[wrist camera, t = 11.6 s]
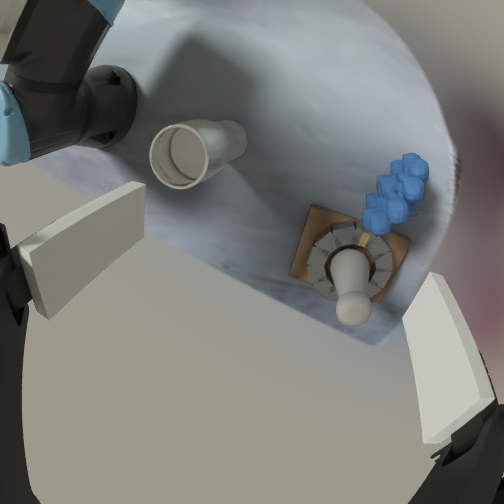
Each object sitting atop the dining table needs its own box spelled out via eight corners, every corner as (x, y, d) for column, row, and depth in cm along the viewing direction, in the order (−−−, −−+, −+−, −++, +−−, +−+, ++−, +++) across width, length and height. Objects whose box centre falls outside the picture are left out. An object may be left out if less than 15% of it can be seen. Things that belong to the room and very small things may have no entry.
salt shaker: (322, 256, 41) (319, 311, 30) (353, 234, 39) (361, 286, 28) (344, 282, 43) (346, 341, 31) (374, 263, 40) (387, 319, 29)
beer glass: (240, 109, 35) (193, 109, 22) (258, 154, 38) (221, 177, 25) (197, 127, 38) (137, 140, 25) (215, 169, 40) (163, 200, 28)
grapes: (379, 228, 38) (396, 270, 28) (346, 199, 38) (354, 234, 28) (430, 172, 32) (466, 196, 22) (397, 139, 32) (427, 150, 22)
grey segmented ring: (298, 280, 44) (296, 291, 42) (323, 209, 38) (323, 217, 35) (369, 302, 43) (370, 313, 40) (402, 236, 37) (406, 246, 34)
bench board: (289, 272, 46) (288, 276, 44) (311, 204, 39) (311, 207, 38) (377, 299, 44) (378, 303, 43) (409, 238, 38) (410, 241, 37)
